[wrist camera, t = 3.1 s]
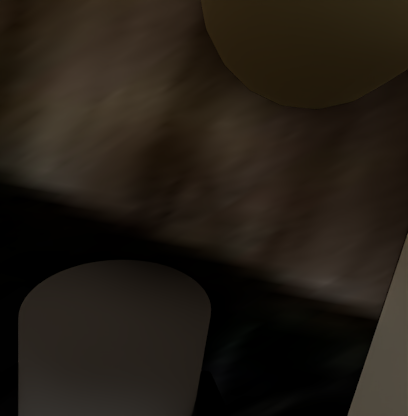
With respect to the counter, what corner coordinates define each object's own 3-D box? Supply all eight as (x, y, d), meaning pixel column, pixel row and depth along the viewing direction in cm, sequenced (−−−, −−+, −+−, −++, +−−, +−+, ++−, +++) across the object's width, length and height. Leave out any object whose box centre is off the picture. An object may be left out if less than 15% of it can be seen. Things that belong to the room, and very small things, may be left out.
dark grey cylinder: (183, 424, 9) (167, 625, 5) (71, 410, 9) (-31, 605, 5) (209, 270, 8) (213, 384, 4) (79, 252, 8) (-46, 351, 4)
